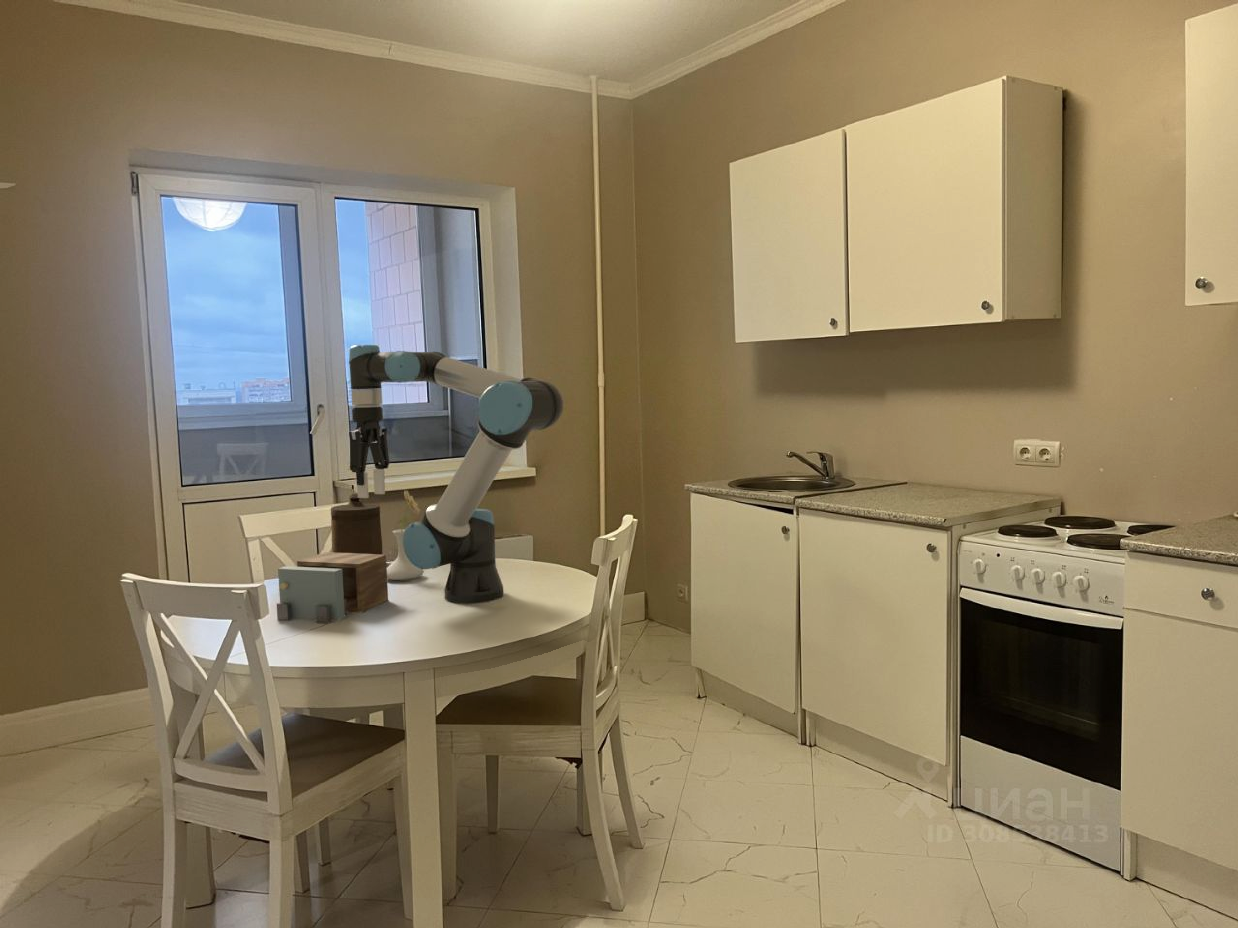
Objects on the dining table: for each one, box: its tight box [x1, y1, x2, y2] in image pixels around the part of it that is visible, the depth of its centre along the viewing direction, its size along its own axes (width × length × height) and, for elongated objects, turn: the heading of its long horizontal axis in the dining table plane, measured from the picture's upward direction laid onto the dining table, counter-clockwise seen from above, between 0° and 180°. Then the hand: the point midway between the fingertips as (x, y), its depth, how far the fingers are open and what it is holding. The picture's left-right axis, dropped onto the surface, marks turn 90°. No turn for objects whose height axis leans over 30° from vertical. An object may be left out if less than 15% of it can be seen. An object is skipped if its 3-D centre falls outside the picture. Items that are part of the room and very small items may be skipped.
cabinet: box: [296, 551, 389, 613], centre depth 237 cm, size 18×12×12 cm, turn 72°
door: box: [277, 565, 346, 622], centre depth 224 cm, size 16×4×12 cm, turn 72°
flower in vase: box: [387, 490, 425, 581], centre depth 266 cm, size 13×11×25 cm
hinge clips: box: [276, 599, 348, 624], centre depth 225 cm, size 14×8×4 cm, turn 72°
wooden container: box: [330, 493, 384, 555], centre depth 287 cm, size 15×15×22 cm
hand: (371, 495), depth 240 cm, fingers open, 7 cm apart
